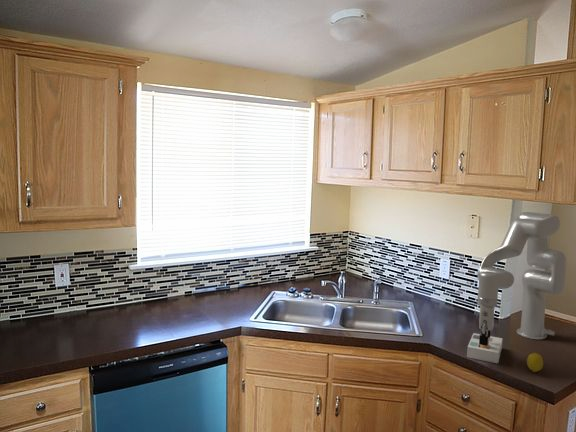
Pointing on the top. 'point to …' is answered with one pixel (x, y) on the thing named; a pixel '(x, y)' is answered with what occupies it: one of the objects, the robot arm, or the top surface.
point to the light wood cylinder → (485, 346)
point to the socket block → (482, 353)
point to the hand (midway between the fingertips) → (484, 340)
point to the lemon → (535, 362)
